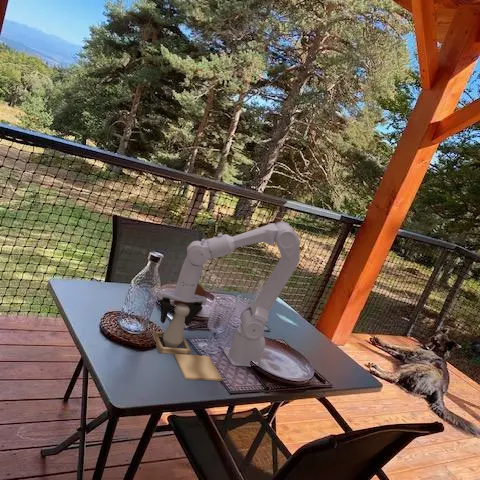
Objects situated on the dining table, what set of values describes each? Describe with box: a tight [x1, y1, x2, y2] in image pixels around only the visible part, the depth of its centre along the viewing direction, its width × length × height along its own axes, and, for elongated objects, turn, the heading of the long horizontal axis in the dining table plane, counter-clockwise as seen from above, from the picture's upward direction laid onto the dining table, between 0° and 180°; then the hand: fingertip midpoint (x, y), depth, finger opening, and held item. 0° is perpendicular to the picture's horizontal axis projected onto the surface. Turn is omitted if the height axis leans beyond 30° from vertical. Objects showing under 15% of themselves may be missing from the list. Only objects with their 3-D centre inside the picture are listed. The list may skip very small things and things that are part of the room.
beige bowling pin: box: [162, 304, 190, 348], centre depth 133 cm, size 6×6×13 cm
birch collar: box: [151, 330, 192, 355], centre depth 134 cm, size 9×9×2 cm
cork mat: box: [173, 354, 224, 382], centre depth 127 cm, size 11×11×1 cm
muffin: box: [173, 283, 208, 307], centre depth 161 cm, size 12×11×10 cm
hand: (174, 322), depth 135 cm, fingers open, 7 cm apart
